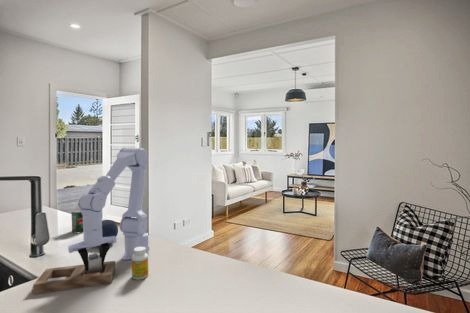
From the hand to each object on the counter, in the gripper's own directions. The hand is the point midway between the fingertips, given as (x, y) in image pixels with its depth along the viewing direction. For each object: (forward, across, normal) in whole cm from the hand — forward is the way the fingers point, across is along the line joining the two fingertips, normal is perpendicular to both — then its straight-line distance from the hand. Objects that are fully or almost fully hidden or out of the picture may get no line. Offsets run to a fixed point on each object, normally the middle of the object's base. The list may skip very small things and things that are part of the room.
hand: (94, 267), depth 95 cm
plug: (+3, 0, 0) cm, 3 cm away
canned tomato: (+4, -7, -60) cm, 61 cm away
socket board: (+4, +5, -2) cm, 6 cm away
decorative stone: (+4, -12, -32) cm, 34 cm away
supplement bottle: (+4, -13, +9) cm, 16 cm away
